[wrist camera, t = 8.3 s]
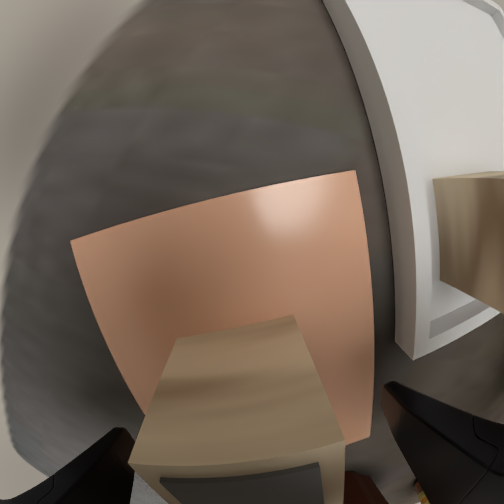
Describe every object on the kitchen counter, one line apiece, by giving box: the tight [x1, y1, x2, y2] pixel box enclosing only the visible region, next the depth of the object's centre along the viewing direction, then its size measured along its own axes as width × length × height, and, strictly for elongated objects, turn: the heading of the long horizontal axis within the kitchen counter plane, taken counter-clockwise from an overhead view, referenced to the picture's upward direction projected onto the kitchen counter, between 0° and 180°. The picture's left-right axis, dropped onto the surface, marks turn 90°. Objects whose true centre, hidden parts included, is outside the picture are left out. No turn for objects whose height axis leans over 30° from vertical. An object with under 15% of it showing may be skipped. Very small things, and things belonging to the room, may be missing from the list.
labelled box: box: [128, 315, 345, 504], centre depth 7 cm, size 4×4×6 cm
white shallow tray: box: [322, 0, 504, 360], centre depth 8 cm, size 20×16×2 cm
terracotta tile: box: [70, 170, 374, 445], centre depth 11 cm, size 14×11×1 cm
